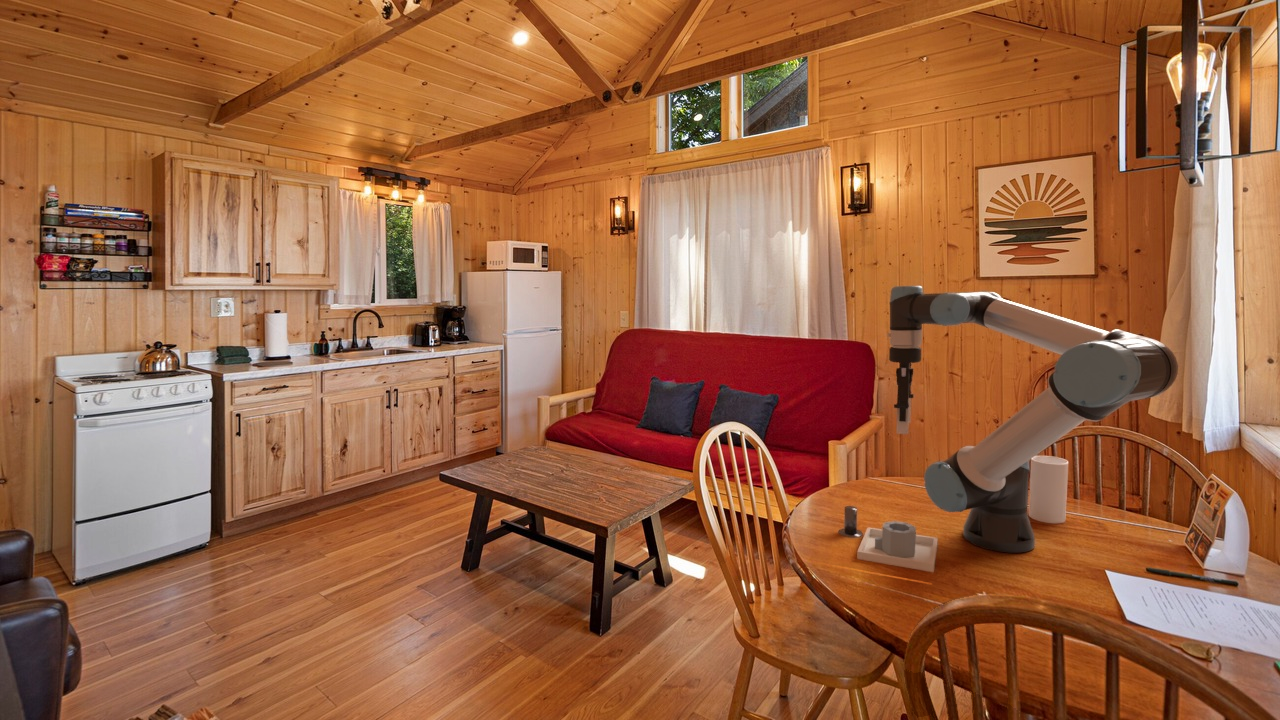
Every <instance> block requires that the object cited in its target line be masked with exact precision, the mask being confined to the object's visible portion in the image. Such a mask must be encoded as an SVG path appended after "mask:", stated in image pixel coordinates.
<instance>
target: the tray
mask: <svg viewBox="0 0 1280 720" xmlns="http://www.w3.org/2000/svg"><path fill="white" fill-rule="evenodd" d="M882 532H883V528H882V529H881V528H874V527H870V526H869V527H866V530H865V533H864V534H863V536H862V537H863V538H862V540H861V542H860V544H859V546H858V549H857V552H856V553H857V554H856V555H857V556H856V559H857V560H859V561H867V562H871V563H876V564H877V563H878V564H881V565H883V564H884V565H888V566H894V567H901V568H906V569H912V570H917V571H923V572H928V573H932V574H933V573H935V565H936V558H937V552H938V551H937V550H938V537H935V536H928V535H922V534H916V548H915V556H914V557H909V558H901V557H895V556H889V555H888V554H886V553H884V552H883V551H882V550H879V549H875V538H876V537H880V538H882Z"/></svg>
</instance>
